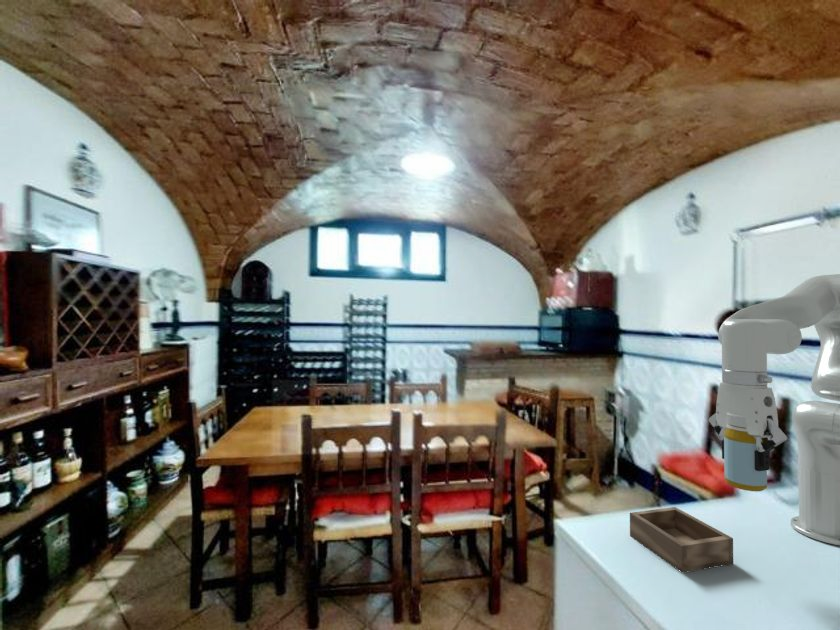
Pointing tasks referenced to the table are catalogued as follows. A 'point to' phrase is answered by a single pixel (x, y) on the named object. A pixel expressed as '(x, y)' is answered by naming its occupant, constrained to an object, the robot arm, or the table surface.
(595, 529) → the table surface
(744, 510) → the table surface
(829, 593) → the table surface
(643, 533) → the brown box
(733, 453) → the bottle
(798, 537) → the table surface
